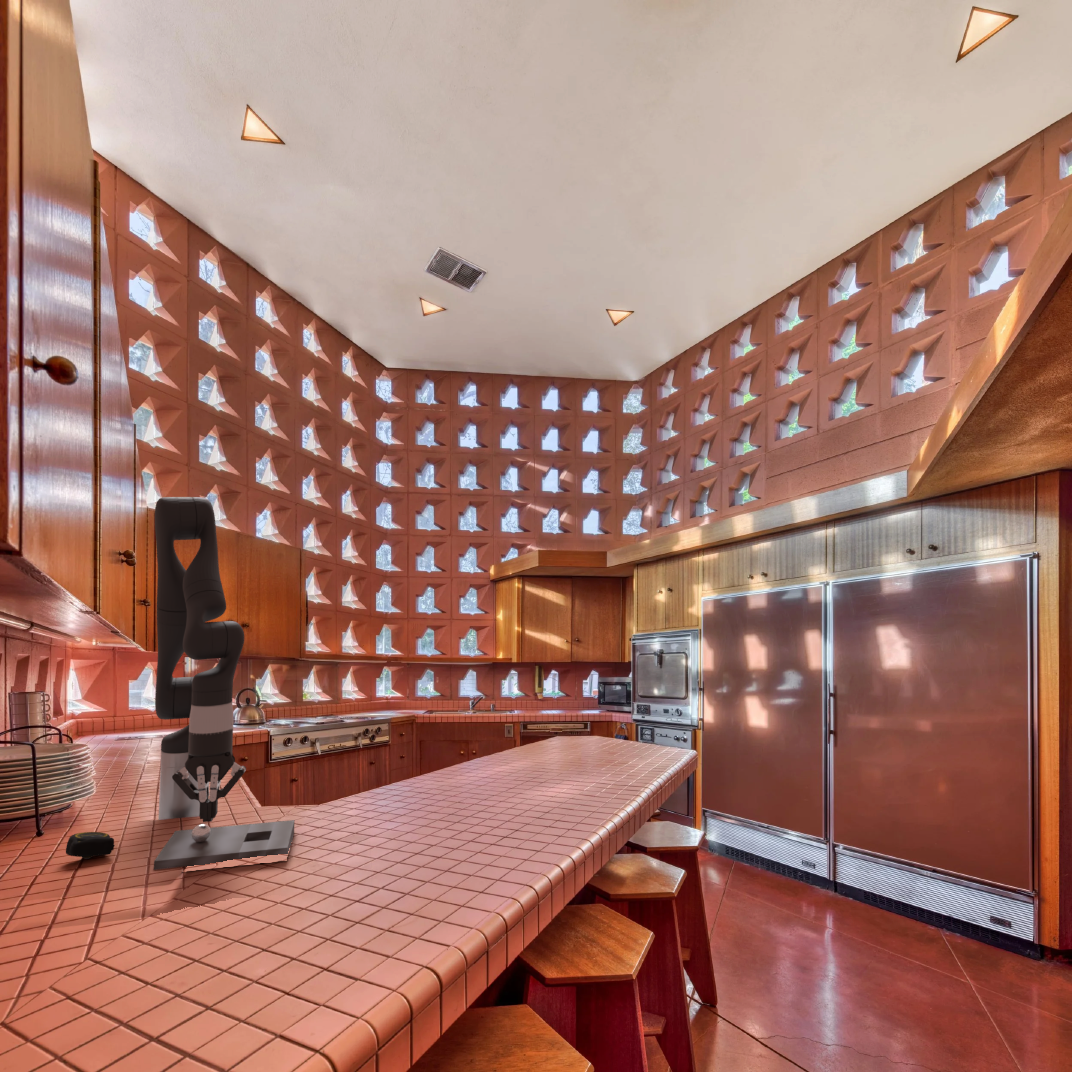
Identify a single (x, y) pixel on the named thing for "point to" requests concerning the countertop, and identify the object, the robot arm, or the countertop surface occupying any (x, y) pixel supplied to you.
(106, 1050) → the countertop surface
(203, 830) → the steel ball
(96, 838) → the tape measure
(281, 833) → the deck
